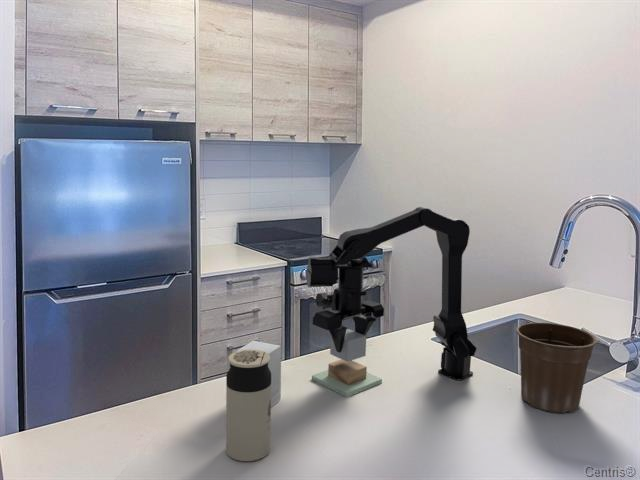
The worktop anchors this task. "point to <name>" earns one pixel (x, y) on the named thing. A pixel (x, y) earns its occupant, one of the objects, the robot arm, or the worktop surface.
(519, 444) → the worktop surface
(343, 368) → the walnut block
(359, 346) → the slate block
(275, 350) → the supplement box
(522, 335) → the plant pot
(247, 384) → the travel mug
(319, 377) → the baseplate
